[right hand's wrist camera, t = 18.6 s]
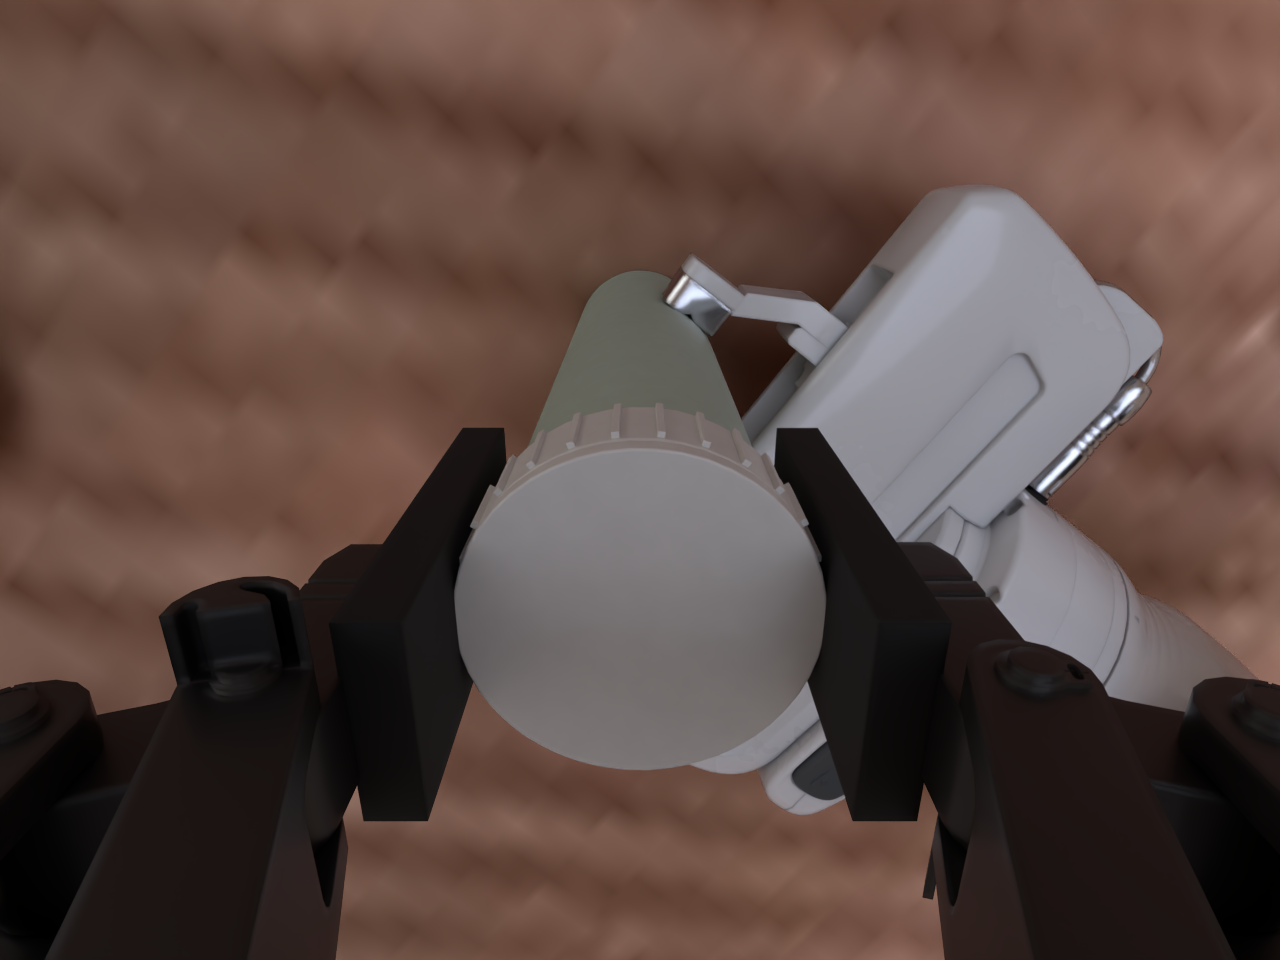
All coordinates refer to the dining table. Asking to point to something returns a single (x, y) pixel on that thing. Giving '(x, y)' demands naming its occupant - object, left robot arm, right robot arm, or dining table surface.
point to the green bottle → (638, 359)
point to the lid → (640, 591)
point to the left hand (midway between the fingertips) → (615, 357)
